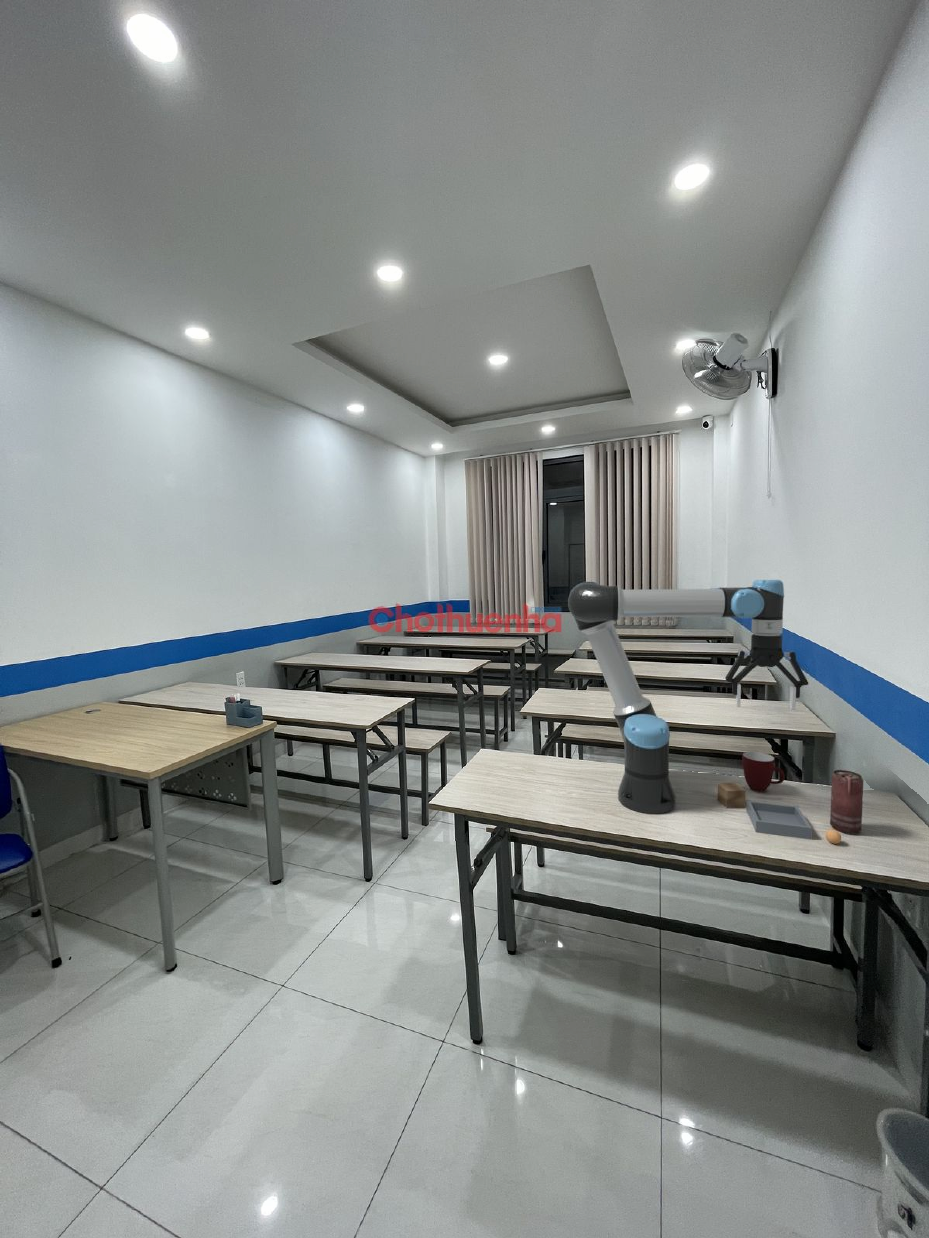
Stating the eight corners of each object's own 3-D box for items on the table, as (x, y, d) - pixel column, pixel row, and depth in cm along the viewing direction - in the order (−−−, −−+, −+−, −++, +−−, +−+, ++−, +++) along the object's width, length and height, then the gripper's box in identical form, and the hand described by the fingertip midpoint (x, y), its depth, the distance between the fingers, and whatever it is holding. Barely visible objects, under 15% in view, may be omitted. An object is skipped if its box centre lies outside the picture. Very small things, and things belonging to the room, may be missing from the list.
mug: (780, 786, 145) (781, 754, 144) (786, 798, 137) (787, 764, 136) (739, 782, 149) (740, 750, 148) (744, 793, 141) (744, 759, 140)
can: (835, 833, 119) (837, 777, 117) (826, 821, 124) (828, 767, 123) (865, 837, 116) (868, 780, 115) (855, 824, 122) (858, 770, 121)
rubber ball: (827, 844, 114) (828, 832, 113) (823, 838, 117) (823, 826, 116) (843, 847, 113) (843, 834, 112) (838, 840, 115) (838, 828, 115)
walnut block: (726, 808, 133) (727, 790, 132) (717, 800, 138) (717, 783, 137) (745, 808, 133) (745, 790, 132) (735, 799, 138) (735, 782, 137)
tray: (755, 831, 120) (756, 821, 120) (746, 810, 131) (746, 800, 131) (811, 839, 116) (812, 828, 116) (797, 816, 127) (797, 806, 127)
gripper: (719, 635, 140) (718, 707, 142) (823, 636, 131) (820, 713, 133) (715, 632, 147) (714, 701, 149) (814, 633, 138) (811, 706, 140)
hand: (764, 707), depth 141 cm, fingers open, 13 cm apart
